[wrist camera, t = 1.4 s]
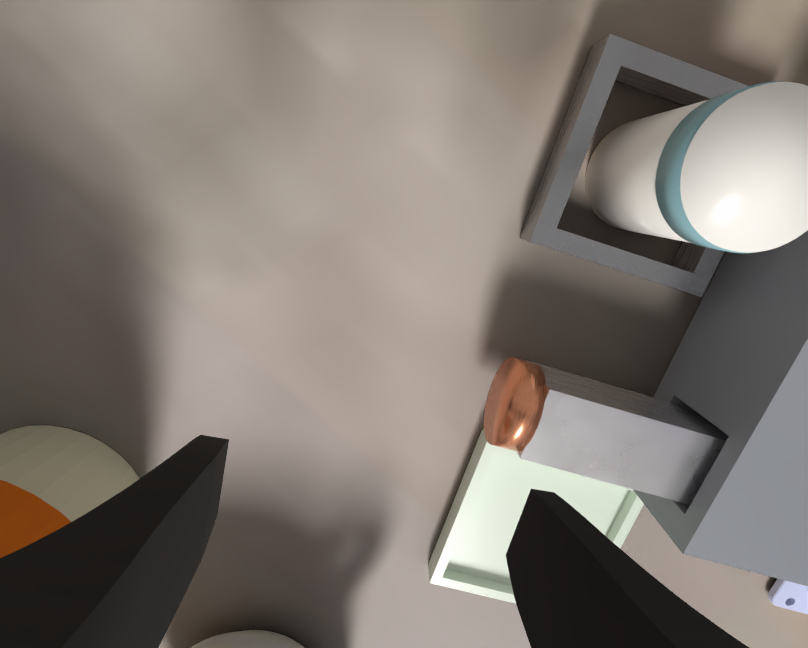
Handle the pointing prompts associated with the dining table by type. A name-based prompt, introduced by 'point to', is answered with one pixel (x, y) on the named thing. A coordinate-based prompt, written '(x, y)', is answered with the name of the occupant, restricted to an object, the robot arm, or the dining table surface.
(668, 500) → the housing
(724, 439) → the copper knob grey block
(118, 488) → the reusable coffee cup
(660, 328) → the dining table surface
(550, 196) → the collar
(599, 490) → the tray
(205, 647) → the teacup
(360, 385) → the dining table surface
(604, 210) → the cylinder
